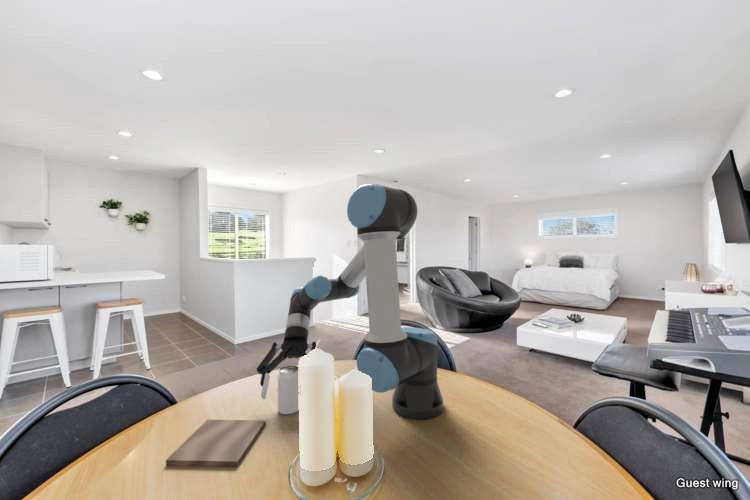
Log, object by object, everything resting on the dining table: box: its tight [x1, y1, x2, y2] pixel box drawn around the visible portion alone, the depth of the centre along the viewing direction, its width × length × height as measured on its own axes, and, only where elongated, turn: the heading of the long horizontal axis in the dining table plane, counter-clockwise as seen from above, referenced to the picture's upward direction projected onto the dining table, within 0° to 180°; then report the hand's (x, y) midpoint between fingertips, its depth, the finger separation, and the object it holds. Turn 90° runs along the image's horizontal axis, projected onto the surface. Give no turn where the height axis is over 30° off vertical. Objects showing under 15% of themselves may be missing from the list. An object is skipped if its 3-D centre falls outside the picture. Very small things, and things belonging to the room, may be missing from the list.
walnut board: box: [165, 419, 266, 468], centre depth 77 cm, size 16×16×1 cm
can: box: [277, 365, 299, 416], centre depth 92 cm, size 6×6×12 cm
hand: (287, 396), depth 90 cm, fingers open, 13 cm apart
